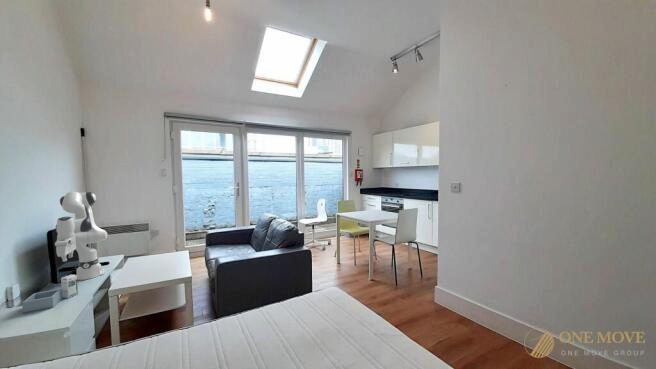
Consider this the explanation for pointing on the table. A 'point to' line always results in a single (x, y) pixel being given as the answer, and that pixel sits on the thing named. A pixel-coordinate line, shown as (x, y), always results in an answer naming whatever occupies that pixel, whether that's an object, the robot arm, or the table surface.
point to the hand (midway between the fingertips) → (67, 259)
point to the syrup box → (69, 286)
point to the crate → (42, 300)
